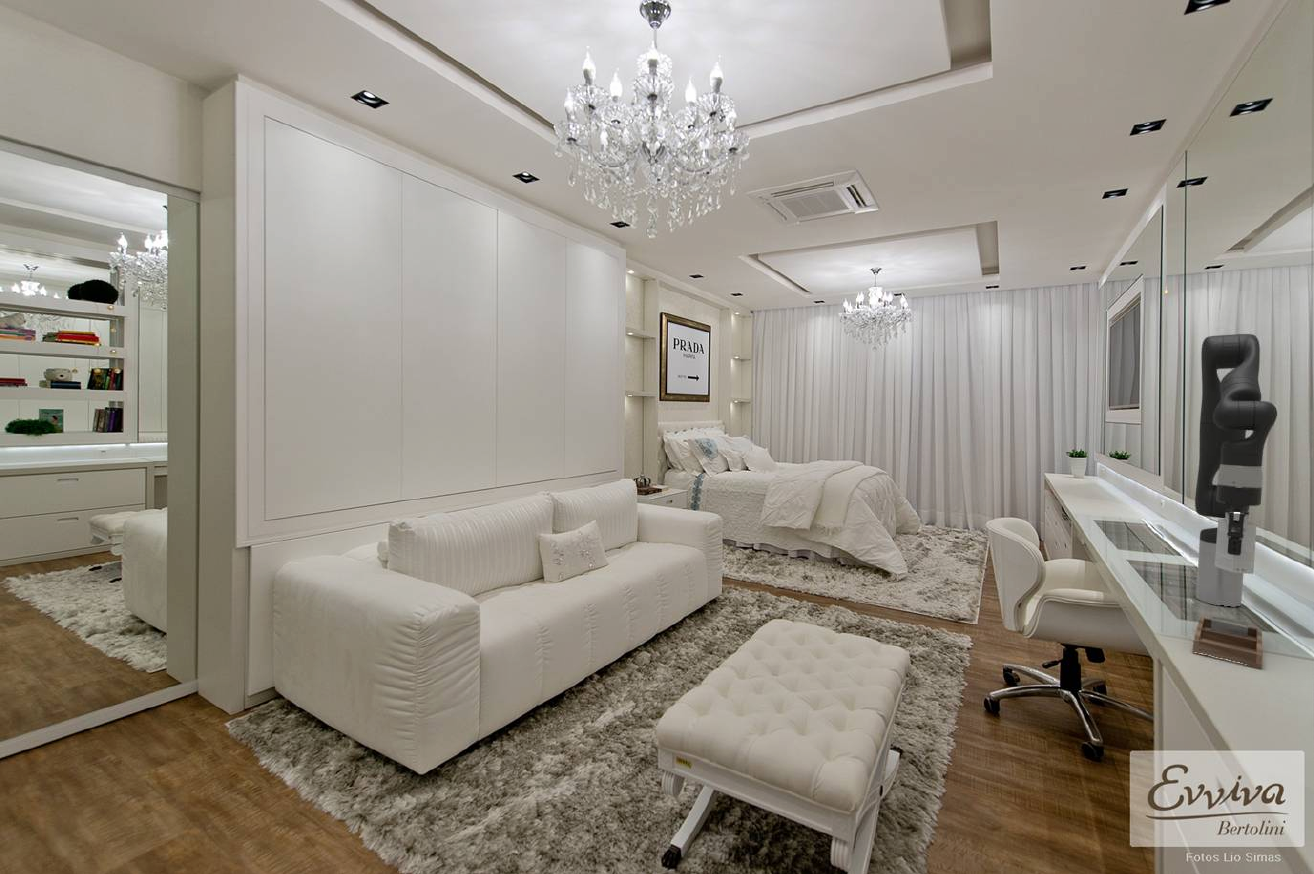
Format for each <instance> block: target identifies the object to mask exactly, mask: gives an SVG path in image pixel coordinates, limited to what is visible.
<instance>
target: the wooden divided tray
mask: <svg viewBox="0 0 1314 874" xmlns="http://www.w3.org/2000/svg"><path fill="white" fill-rule="evenodd" d="M1193 652H1197V653H1203V654H1207V655H1211V656H1214V657H1218V658H1223V659H1228V660H1231V661H1235V662H1240V663H1243V664H1247V665H1249V666H1248V667H1250V666H1252V667H1251V668H1254V669H1258V670H1262V665H1263V629H1261V628H1256V627H1252V626H1249V621H1247V620H1242V619H1237V618H1231V617H1227V616H1221V615H1216V614H1212V616H1211V618H1206V617H1205V618H1204V617H1201V616H1200V617H1199V620H1198V624H1197V626H1196V630H1195V634H1194V637H1193V645H1192V653H1193Z"/></svg>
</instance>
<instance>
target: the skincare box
mask: <svg viewBox="0 0 1314 874" xmlns="http://www.w3.org/2000/svg"><path fill="white" fill-rule="evenodd" d="M1243 525H1244V524H1243ZM1217 527H1218V529H1217V543H1216V557H1215V567H1218V568H1221V569H1224V570H1227V571H1230V572H1233V573H1244V574H1246V575H1247V574H1248V575H1249V574H1250V575H1251V574H1252V575H1253V574H1254V569H1255V552H1256V551H1255V550H1256V538H1257V537H1256V536H1257V524H1256V523H1253V522H1248V521H1247V527H1246V531H1245V532H1243V535H1244V538H1243V539H1242V545H1241V555H1231V554H1228V539H1229V538H1228V536H1227V533H1228V530H1227V529H1226V519H1224V518H1218V519H1217ZM1231 532H1238V533H1240V531H1239V530H1237V529H1235V530H1232V531H1231ZM1239 540H1240V539H1239Z"/></svg>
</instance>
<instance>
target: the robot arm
mask: <svg viewBox="0 0 1314 874" xmlns="http://www.w3.org/2000/svg"><path fill="white" fill-rule="evenodd" d="M1260 352H1261V348H1260V341H1259V338H1258V337H1257V336H1256V335H1255V334H1253V333H1237V334H1235V333H1234V334H1223V335H1221V334H1219V335H1209V336H1207V337H1206V336H1205V338H1204V340H1203V342H1202V345H1201V353H1200V354H1201V387H1202V390H1201V391H1202V393H1201V404H1200V405H1201V407H1200V418H1199V453H1198V454H1199V461H1198V469H1197V470H1198V472H1197V481H1196V488H1195V495H1194V496H1195V497H1194V507H1195V511H1196V513H1197V514H1198V515H1199V516H1202V517H1209V518H1218V519H1226V529H1227V530H1228V533H1227V536H1228V538H1229V539H1228V554H1231V555H1241V545H1242V539H1243V538H1244V535H1243V532H1245V531H1246V527H1247V522H1248V521H1249V520H1250V519H1249V518H1250V511H1249V510H1250V507H1257V506H1260V505H1262V494H1263V493H1262V492H1263V480H1264V479H1263V467H1262V466H1263V455H1264V448H1265V444H1266V442H1267V438H1268V437H1269V434H1270V432H1271V430H1272V428H1273V427H1274V424H1275V423H1276V420H1277V417H1278V410H1277V408H1276V406H1275V405H1274V404H1273V403H1272V402H1270V401H1267V400H1262V392H1261V388H1260V383H1259V373H1260V363H1261V361H1260V359H1261V355H1260V354H1261V353H1260ZM1227 369H1228V370H1229V369H1232V370H1230V371H1228V373H1227V374H1225V375H1224V376H1223V378H1222V379H1221V380H1220V377H1219V374H1218V370H1227ZM1247 431H1252V433H1251V434H1250V436H1248V437H1246V435H1247ZM1217 472H1218V473H1217ZM1216 474H1217V483H1216V484H1213V481H1214V477H1216ZM1243 524H1244V525H1243ZM1217 529H1218V526H1217V527H1210V528H1204V529H1201V531H1200V533H1199V545H1198V559H1197V560H1198V562H1197V563H1198V564H1197V577H1196V578H1197V579H1196V591H1195V598H1196V600H1198V601H1200V602H1204V603H1206V604H1209V605H1215V606H1220V605H1224V606H1223V607H1227V606H1231V607H1230V608H1237V607H1236V606H1240V605H1241V606H1242V599H1243V598H1242V597H1243V586H1244V574H1245V573H1233V572H1230V571H1227V570H1224V569H1221V568H1218V567H1215V557H1216V543H1217ZM1235 529H1237V530H1239V531H1240V533H1238V532H1231V531H1232V530H1235ZM1239 539H1240V540H1239ZM1241 606H1240V607H1241Z"/></svg>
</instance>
